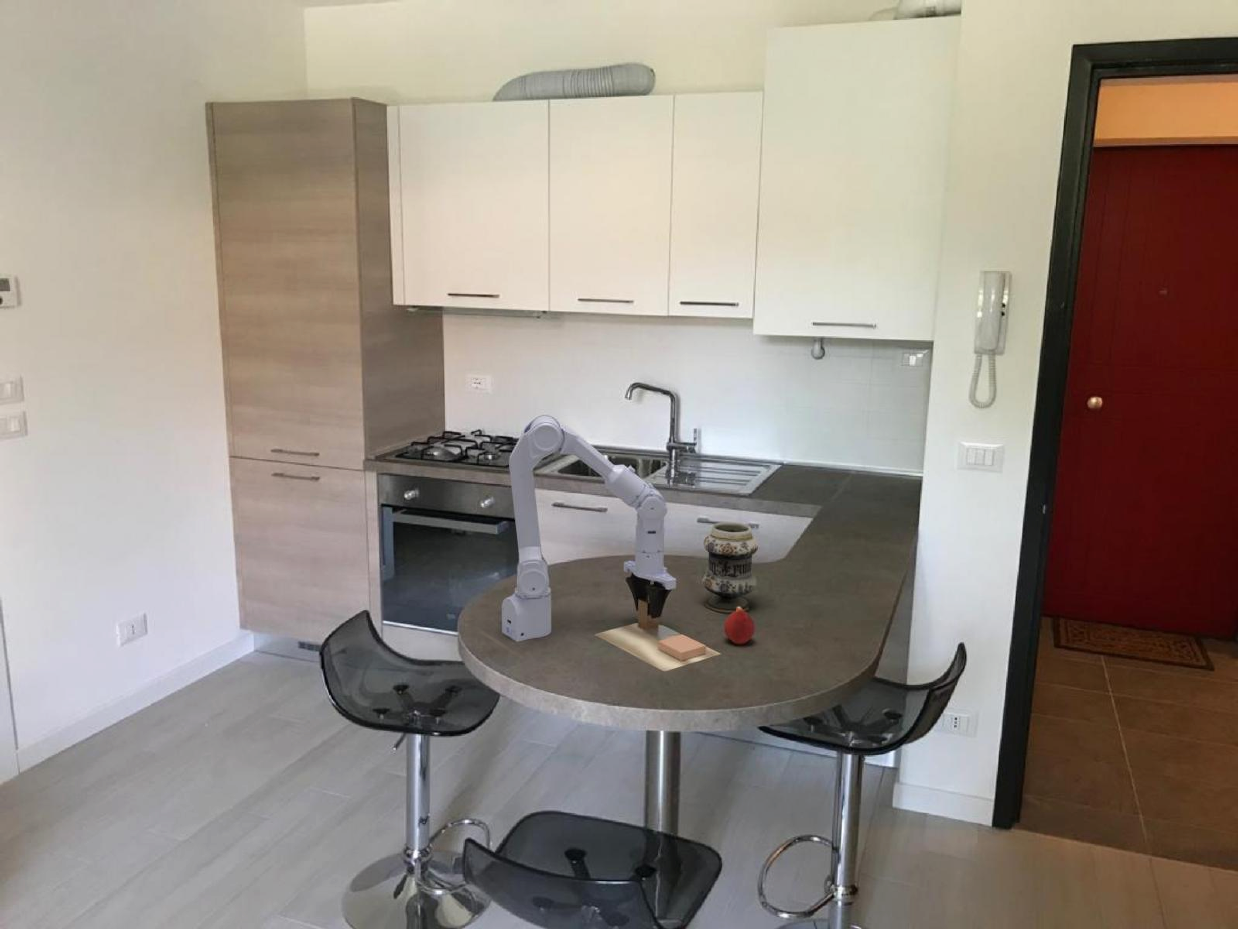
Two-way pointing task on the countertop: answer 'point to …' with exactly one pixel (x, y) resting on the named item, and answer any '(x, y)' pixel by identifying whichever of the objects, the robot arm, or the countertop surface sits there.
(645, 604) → the bookend
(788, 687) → the countertop surface
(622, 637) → the board
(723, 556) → the apothecary jar
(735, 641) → the onion
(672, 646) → the tile
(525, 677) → the countertop surface
